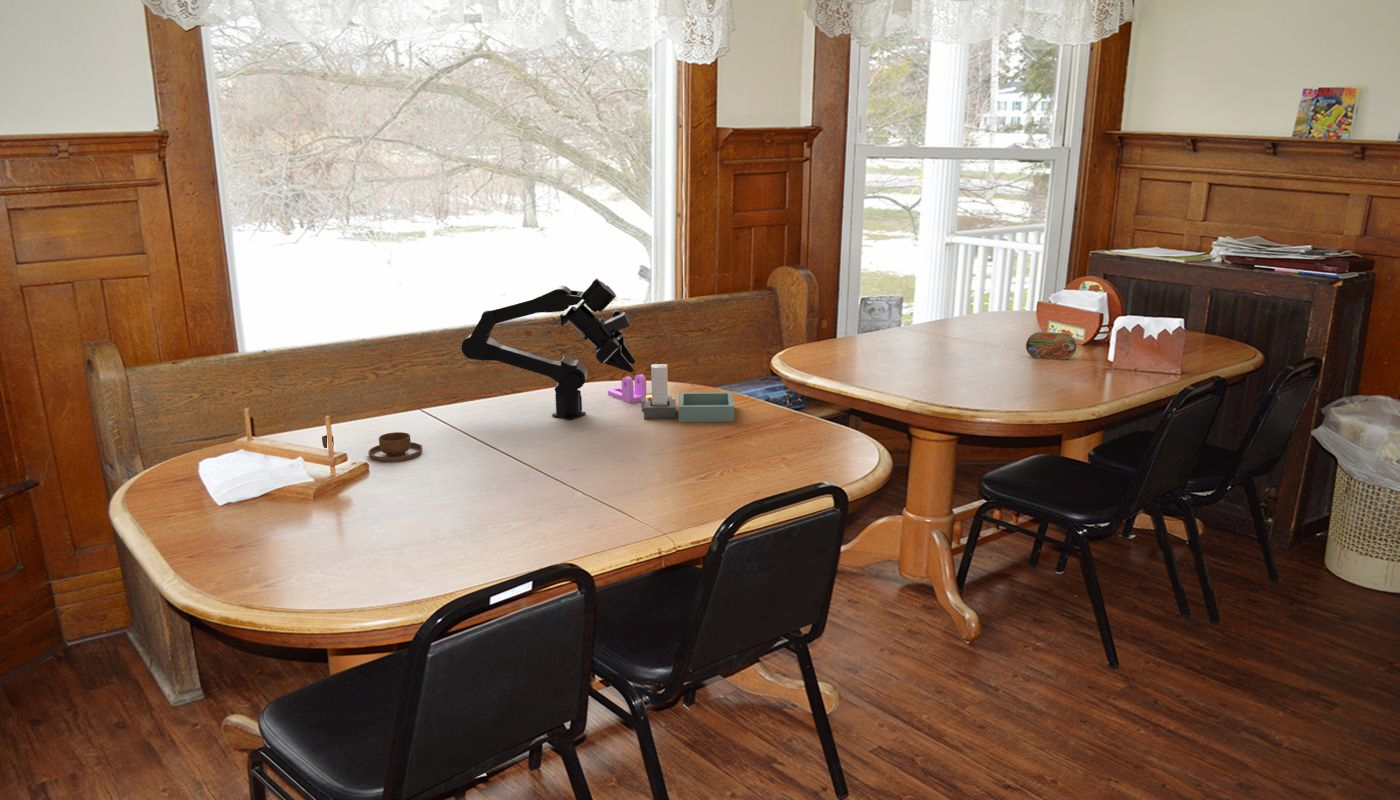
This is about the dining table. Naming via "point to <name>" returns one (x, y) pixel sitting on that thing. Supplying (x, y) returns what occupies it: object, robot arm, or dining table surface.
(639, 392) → the bracket
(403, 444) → the place setting
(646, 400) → the tensioner bracket
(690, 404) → the tray
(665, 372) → the pin
